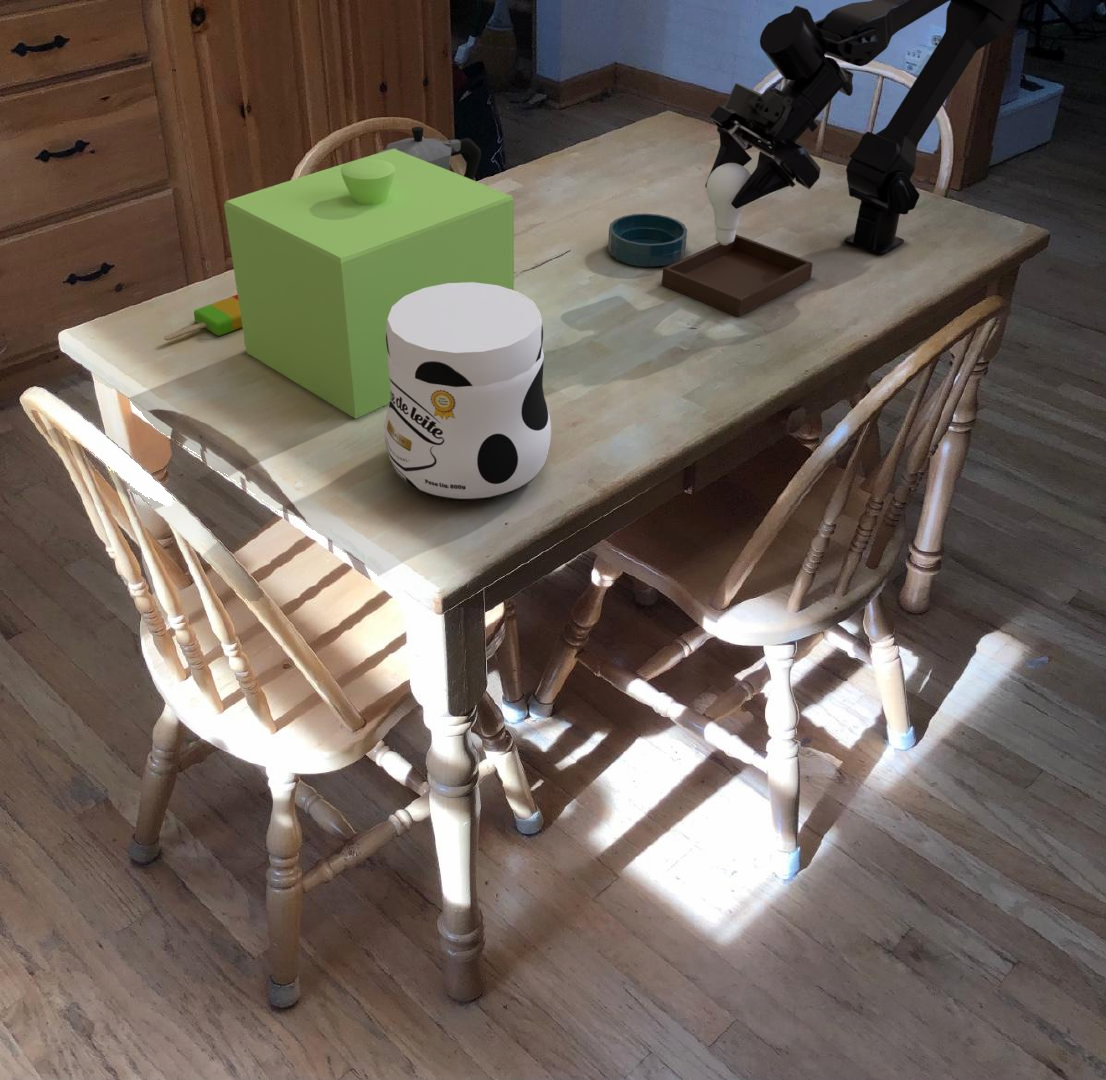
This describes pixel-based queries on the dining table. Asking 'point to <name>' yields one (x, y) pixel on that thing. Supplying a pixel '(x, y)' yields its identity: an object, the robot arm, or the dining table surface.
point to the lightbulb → (726, 199)
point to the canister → (357, 264)
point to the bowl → (647, 240)
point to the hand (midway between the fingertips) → (720, 197)
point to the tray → (737, 275)
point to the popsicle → (214, 318)
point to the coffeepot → (438, 150)
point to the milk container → (466, 391)
